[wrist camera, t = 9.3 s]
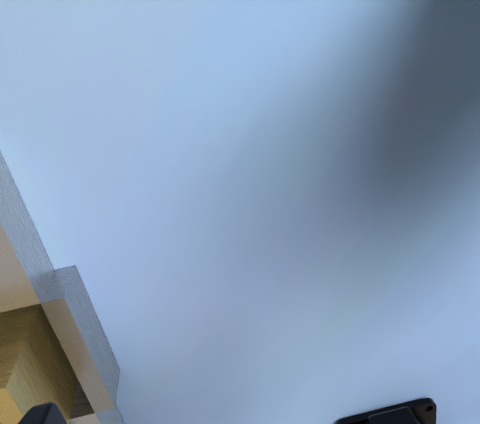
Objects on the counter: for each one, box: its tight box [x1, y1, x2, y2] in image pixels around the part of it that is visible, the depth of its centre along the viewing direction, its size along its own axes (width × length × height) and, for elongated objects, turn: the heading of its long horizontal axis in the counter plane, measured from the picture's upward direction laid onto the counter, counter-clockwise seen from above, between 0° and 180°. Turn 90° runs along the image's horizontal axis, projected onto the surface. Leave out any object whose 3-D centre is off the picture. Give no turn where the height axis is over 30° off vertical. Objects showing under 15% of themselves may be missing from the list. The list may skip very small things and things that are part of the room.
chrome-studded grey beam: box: [0, 153, 124, 424], centre depth 21 cm, size 22×8×3 cm, turn 10°
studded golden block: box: [0, 303, 79, 424], centre depth 19 cm, size 5×4×7 cm
